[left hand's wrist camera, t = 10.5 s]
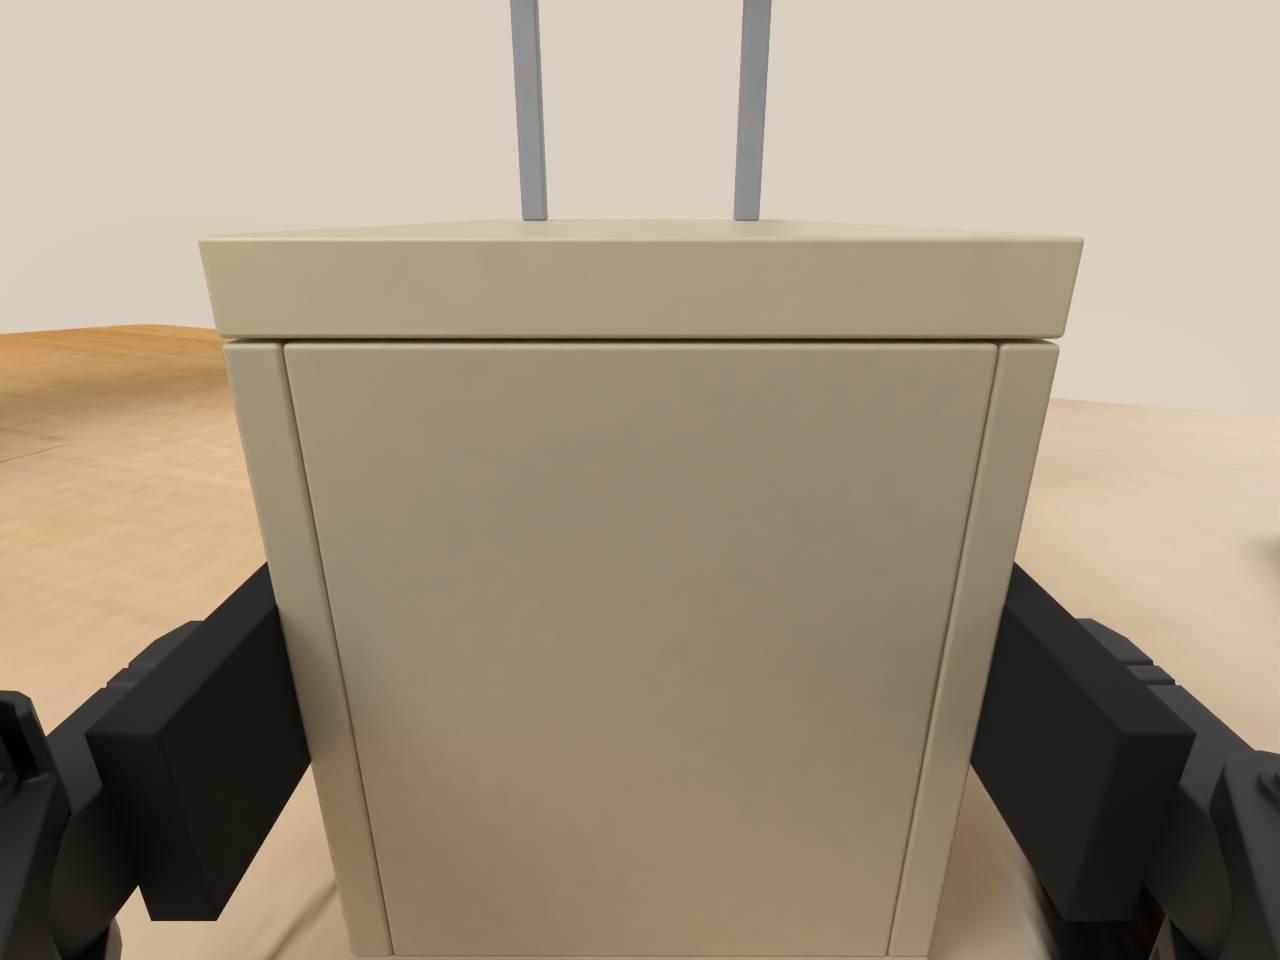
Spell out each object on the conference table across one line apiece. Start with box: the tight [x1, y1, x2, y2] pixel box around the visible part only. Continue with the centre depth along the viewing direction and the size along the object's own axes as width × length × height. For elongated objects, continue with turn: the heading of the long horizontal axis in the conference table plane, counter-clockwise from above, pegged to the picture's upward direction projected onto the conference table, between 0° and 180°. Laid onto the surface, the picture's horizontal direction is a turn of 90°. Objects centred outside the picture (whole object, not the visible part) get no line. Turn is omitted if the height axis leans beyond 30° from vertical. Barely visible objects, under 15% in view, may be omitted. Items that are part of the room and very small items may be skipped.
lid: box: [198, 0, 1084, 339], centre depth 15 cm, size 18×10×9 cm, turn 0°
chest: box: [222, 338, 1059, 960], centre depth 18 cm, size 17×10×11 cm, turn 0°
